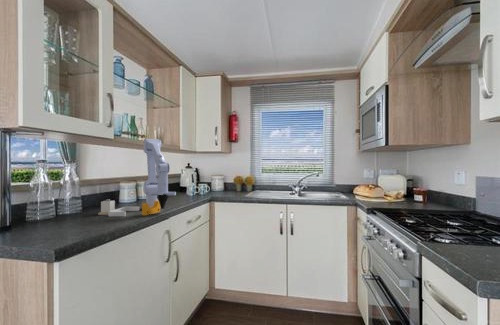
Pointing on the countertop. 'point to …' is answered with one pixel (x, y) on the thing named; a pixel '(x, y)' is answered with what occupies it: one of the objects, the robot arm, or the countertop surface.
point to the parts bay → (123, 211)
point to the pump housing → (107, 207)
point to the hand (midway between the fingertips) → (162, 208)
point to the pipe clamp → (150, 208)
